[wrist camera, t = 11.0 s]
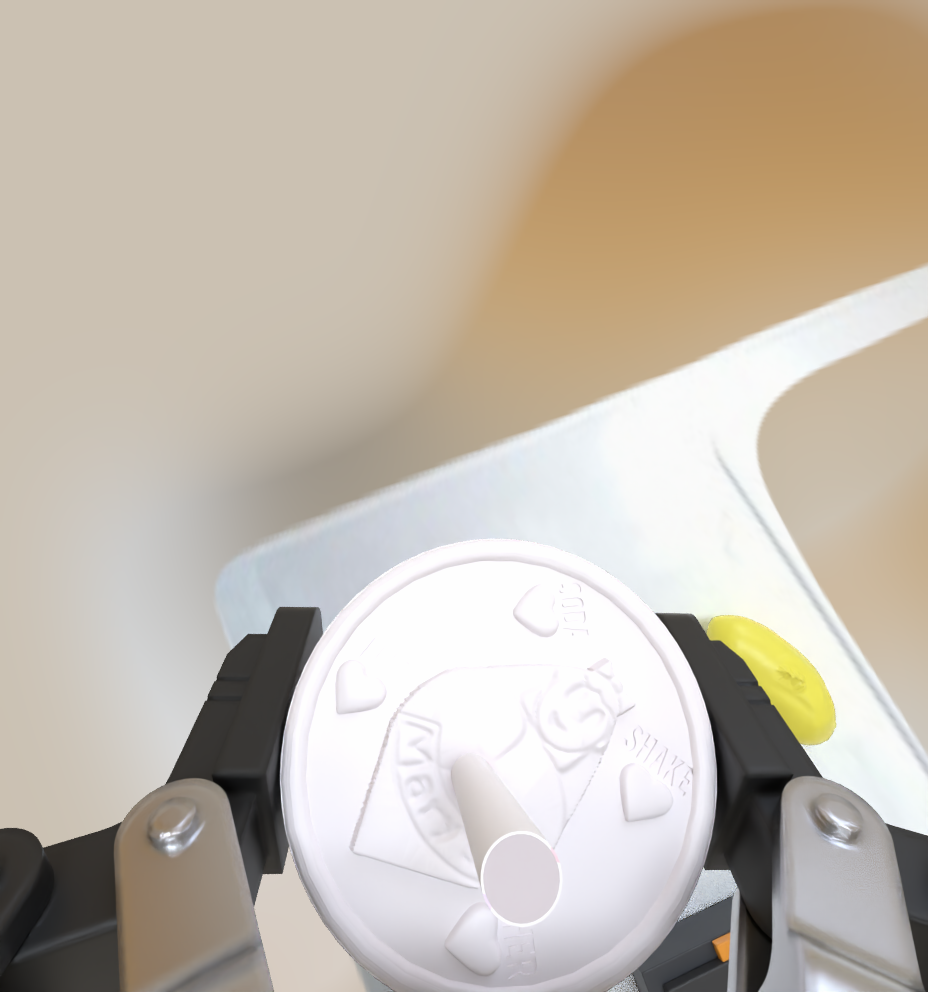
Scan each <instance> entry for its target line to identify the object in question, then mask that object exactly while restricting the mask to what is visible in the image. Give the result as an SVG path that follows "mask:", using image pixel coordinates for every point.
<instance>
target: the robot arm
mask: <svg viewBox="0 0 928 992" xmlns="http://www.w3.org/2000/svg"><path fill="white" fill-rule="evenodd" d="M655 614H656V616H657V617H658V618H659V619H660V620H661V622H662V623H663V624H664V625H665V627H666V628H667V629H668V631H669V632H670V634H671V635H672V637H673V638H674V640H675V641H676V642H677V644H678V646H679V647H680V649H681V651H682V653H683V654H684V656H685V658H686V660H687V661H688V663H689V666H690V668H691V670H692V672H693V674H694V676H695V678H696V681H697V683H698V686H699V689H700V691H701V694H702V697H703V700H704V702H705V706H706V710H707V713H708V717H709V721H710V724H711V730H712V735H713V741H714V747H715V757H716V768H717V797H716V809H715V819H714V824H713V830H712V836H711V841H710V845H709V849H708V852H707V856H706V860H705V863H704V869H705V870H731V873H732V875H733V877H734V880H735V882H736V884H737V886H738V887H737V889H736V891H735V893H734V896H733V900H732V912H731V932H730V951H729V970H728V989H727V992H928V836H927V835H923V834H920V833H916V832H913V831H909V830H906V829H902V828H899V827H895V826H892V825H889V824H886V823H884V821H883V820H882V818H881V817H880V816H879V815H878V813H877V812H876V811H875V810H874V809H873V808H872V807H871V806H870V805H869V804H868V803H867V802H866V801H865V800H863V799H862V798H861V797H860V796H858V795H857V794H855V793H854V792H852V791H851V790H849V789H847V788H846V787H844V786H842V785H840V784H838V783H835V782H833V781H831V780H827V779H824V778H823V777H822V776H821V774H820V773H819V771H818V770H817V768H816V767H815V765H814V764H813V762H812V761H811V759H810V758H809V756H808V755H807V753H806V752H805V750H804V749H803V747H802V746H801V745H800V743H799V742H798V740H797V739H796V737H795V736H794V734H793V733H792V731H791V730H790V728H789V727H788V725H787V724H786V722H785V721H784V719H783V718H782V716H781V715H780V713H779V712H778V710H777V709H776V707H775V706H774V705H771V702H770V701H771V700H770V698H769V697H768V695H767V694H766V692H765V691H764V689H763V688H762V686H759V685H758V681H757V679H756V678H755V676H754V675H753V673H752V672H751V670H750V669H749V667H748V666H747V664H746V663H745V661H744V660H743V659H742V658H741V657H740V656H739V655H737V654H736V653H735V652H734V651H733V650H731V649H730V648H729V647H728V646H726V645H725V644H724V643H723V642H722V641H720V640H710V639H709V638H708V636H707V634H706V633H705V631H704V630H703V628H702V627H701V625H700V623H699V622H698V620H697V619H696V617H695V616H694V615H692V614H680V613H655ZM322 635H323V631H322V619H321V612H320V609H319V608H318V607H279V608H278V610H277V611H276V614H275V616H274V619H273V621H272V624H271V626H270V629H269V631H268V634H248V635H247V636H246V637H245V638H244V639H242V640H241V641H240V642H239V643H238V644H237V645H236V646H235V647H234V648H233V649H232V650H231V651H230V652H229V653H228V654H227V656H226V658H225V660H224V662H223V664H222V667H221V669H220V671H219V673H218V675H217V680H216V681H215V682H214V684H213V686H212V688H211V690H210V692H209V694H208V699H207V701H205V703H204V705H203V707H202V709H201V711H200V713H199V715H198V718H197V720H196V722H195V724H194V726H193V728H192V730H191V732H190V735H189V737H188V739H187V741H186V743H185V745H184V747H183V750H182V752H181V754H180V756H179V758H178V760H177V762H176V764H175V767H174V769H173V771H172V773H171V775H170V777H169V779H168V780H167V782H166V784H165V785H164V786H161V787H160V788H158V789H156V790H154V791H153V792H151V793H149V794H148V795H147V796H145V797H144V798H143V799H142V800H140V801H139V802H138V803H137V804H136V805H135V806H134V807H133V808H132V810H131V811H130V812H129V813H128V814H127V816H126V817H125V818H124V820H123V822H120V823H118V824H116V825H114V826H112V827H109V828H107V829H104V830H101V831H98V832H95V833H91V834H88V835H85V836H81V837H78V838H74V839H71V840H68V841H65V842H61V843H58V844H54V845H51V846H48V847H44V848H43V847H42V845H41V843H40V842H39V840H38V839H37V837H36V836H35V835H34V834H32V833H31V832H29V831H26V830H23V829H18V828H4V829H0V992H274V990H273V985H272V981H271V977H270V973H269V968H268V964H267V960H266V956H265V952H264V948H263V944H262V940H261V936H260V932H259V928H258V924H257V920H256V915H255V911H254V905H255V901H256V897H257V893H258V889H259V886H260V881H261V878H262V874H282V873H283V869H284V865H285V860H286V856H287V852H288V847H289V843H288V839H287V835H286V831H285V825H284V819H283V812H282V805H281V789H280V768H281V752H282V744H283V736H284V730H285V725H286V721H287V716H288V711H289V708H290V705H291V701H292V698H293V695H294V692H295V689H296V686H297V684H298V681H299V679H300V676H301V674H302V672H303V669H304V667H305V665H306V663H307V661H308V659H309V657H310V655H311V654H312V652H313V650H314V648H315V646H316V645H317V643H318V642H319V640H320V638H321V637H322Z"/></svg>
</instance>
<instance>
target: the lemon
mask: <svg viewBox="0 0 928 992" xmlns="http://www.w3.org/2000/svg"><path fill="white" fill-rule="evenodd" d="M707 636H708V638H709V639H710V640H720V641H722V642H723V643H724V644H725V645H726V646H728V647H729V648H730V649H731V650H733V651H734V652H735V653H736V654H737V655H739V656H740V657H741V658H742V659H743V660H744V661H745V663H746V664H747V666H748V667H749V669H750V670H751V672H752V673H753V675H754V676H755V678H756V679H757V681H758V685H759V686H762V688H763V689H764V691H765V692H766V694H767V695H768V697H769V698H770V700H771V701H770V702H771V705H774V706H775V707H776V709H777V710H778V712H779V713H780V715H781V716H782V718H783V719H784V721H785V722H786V724H787V725H788V727H789V728H790V730H791V731H792V733H793V734H794V736H795V737H796V739H797V740H798V742H799V743H800V744H804V745H818V744H821V743H823V742H825V741H827V740H829V738H830V737H831V735H832V734H833V732H834V729H835V728H836V722H835V720H836V717H835V709H834V704H833V701H832V699H831V696H830V694H829V692H828V690H827V688H826V685H825V683H824V681H823V679H822V678H821V676H820V674H819V673H818V671H817V670H816V669H815V667H814V666H813V665H812V664H811V663H810V662H809V660H808V659H807V658H806V657H804V656H803V655H802V654H801V653H800V652H799V651H798V650H797V649H796V648H794V647H793V646H792V645H790V644H789V643H788V642H786V641H785V640H784V639H782V638H781V637H780V636H779V635H777V634H776V633H775V632H773V631H772V630H771V629H769V628H767V627H766V626H764V625H762V624H760V623H757V622H755V621H753V620H750V619H748V618H745V617H741V616H734V615H722V616H716V617H714V618H713V619H712V620H711V621H710V622H709V625H708V629H707Z"/></svg>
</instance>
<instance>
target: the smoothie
mask: <svg viewBox="0 0 928 992" xmlns="http://www.w3.org/2000/svg"><path fill="white" fill-rule="evenodd" d="M280 789H281V805H282V812H283V819H284V825H285V831H286V835H287V839H288V843H289V847H290V851H291V855H292V857H293V861H294V863H295V866H296V869H297V872H298V875H299V877H300V880H301V882H302V884H303V886H304V888H305V890H306V893H307V894H308V897H309V898H310V901H311V903H312V904H313V906H314V908H315V909H316V911H317V913H318V914H319V916H320V918H321V919H322V921H323V923H324V924H325V925H326V927H327V928H328V930H329V931H330V932H331V933H332V935H333V936H334V937H335V939H336V940H337V942H338V943H339V944H340V945H341V946H342V947H343V948H344V949H345V950H346V952H347V953H348V954H349V955H350V956H351V957H352V958H353V959H354V960H355V961H356V962H357V963H358V964H359V965H360V966H362V967H363V968H364V969H365V970H366V971H367V972H368V973H370V974H371V975H372V976H373V977H374V978H376V979H377V980H378V981H380V982H381V983H383V984H384V985H386V986H387V987H389V988H390V989H392V990H393V991H395V992H607V991H608V990H610V989H611V988H613V987H614V986H615V985H617V984H618V983H620V982H621V981H623V980H624V979H625V978H627V977H628V976H629V975H630V974H631V973H632V972H634V971H635V970H636V969H637V968H638V967H639V966H641V965H642V964H643V963H644V962H645V961H646V960H647V959H648V957H649V956H650V955H651V954H652V953H653V952H654V951H655V950H656V949H657V948H658V947H659V946H660V944H661V943H662V942H663V940H664V939H665V938H666V936H667V935H668V934H669V932H670V931H671V930H672V929H673V927H674V926H675V924H676V922H677V921H678V919H679V917H680V916H681V914H682V912H683V911H684V909H685V908H686V906H687V904H688V902H689V899H690V897H691V895H692V893H693V891H694V889H695V887H696V885H697V882H698V880H699V877H700V874H701V871H702V869H703V866H704V863H705V860H706V856H707V852H708V849H709V845H710V841H711V836H712V830H713V824H714V819H715V809H716V797H717V768H716V757H715V747H714V741H713V735H712V730H711V724H710V721H709V717H708V713H707V710H706V706H705V702H704V700H703V697H702V694H701V691H700V689H699V686H698V683H697V681H696V678H695V676H694V674H693V672H692V670H691V668H690V666H689V663H688V661H687V660H686V658H685V656H684V654H683V653H682V651H681V649H680V647H679V646H678V644H677V642H676V641H675V640H674V638H673V637H672V635H671V634H670V632H669V631H668V629H667V628H666V627H665V625H664V624H663V623H662V622H661V620H660V619H659V618H658V617H657V616H656V614H655V613H654V612H653V611H652V610H651V609H650V608H649V607H648V606H647V605H646V604H645V603H644V602H643V601H642V600H641V599H640V598H639V597H638V596H637V595H636V594H635V593H634V592H633V591H632V590H630V589H629V588H628V587H627V586H626V585H624V584H623V583H622V582H621V581H619V580H618V579H616V578H615V577H613V576H612V575H611V574H609V573H608V572H606V571H605V570H603V569H601V568H600V567H598V566H596V565H594V564H593V563H591V562H589V561H587V560H585V559H583V558H580V557H578V556H576V555H574V554H572V553H569V552H566V551H563V550H560V549H557V548H555V547H551V546H547V545H543V544H539V543H535V542H529V541H522V540H514V539H478V540H471V541H464V542H457V543H453V544H449V545H445V546H441V547H438V548H435V549H432V550H429V551H426V552H424V553H421V554H419V555H417V556H414V557H412V558H410V559H408V560H406V561H404V562H402V563H400V564H398V565H397V566H395V567H393V568H392V569H390V570H388V571H386V572H385V573H384V574H382V575H381V576H379V577H378V578H377V579H375V580H374V581H372V582H371V583H370V584H369V585H367V586H366V587H365V588H364V589H363V590H362V591H361V592H359V593H358V594H357V595H356V596H355V597H354V598H353V599H352V600H351V601H350V602H349V603H348V604H347V605H346V606H345V607H344V608H343V609H342V610H341V612H340V613H339V614H338V615H337V616H336V618H335V619H334V620H333V622H332V623H331V624H330V625H329V627H328V628H327V629H326V631H325V632H324V634H323V635H322V637H321V638H320V640H319V642H318V643H317V645H316V646H315V648H314V650H313V652H312V654H311V655H310V657H309V659H308V661H307V663H306V665H305V667H304V669H303V672H302V674H301V676H300V679H299V681H298V684H297V686H296V689H295V692H294V695H293V698H292V701H291V705H290V708H289V711H288V716H287V721H286V725H285V730H284V736H283V744H282V752H281V768H280Z"/></svg>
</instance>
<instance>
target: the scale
mask: <svg viewBox="0 0 928 992" xmlns="http://www.w3.org/2000/svg"><path fill="white" fill-rule="evenodd" d="M732 900H733V896H732V897H730V898H728V899H726V900H724V901H721V902H719V903H717V904H715V905H713V906H711V907H709V908H707V909H705V910H703V911H701V912H698V913H696V914H694V915H692V916H690V917H688V918H686V919H684V920H682V921H680V922H678V923H676V924H675V926H674V927H673V929H672V930H671V931H670V932H669V934H668V935H667V936H666V938H665V939H664V940H663V942H662V943H661V944H660V946H659V947H658V948H657V949H656V950H655V951H654V952H653V953H652V954H651V955H650V956H649V957H648V959H647V960H646V961H645V962H644V963H643V964H642V965H641V966H639V967H638V968H637V969H636V970H635V971H634V972H632V973H633V976H634V978H635V981H636V984H637V987H638V989H639V992H727V989H728V970H729V951H730V932H731V912H732Z"/></svg>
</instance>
